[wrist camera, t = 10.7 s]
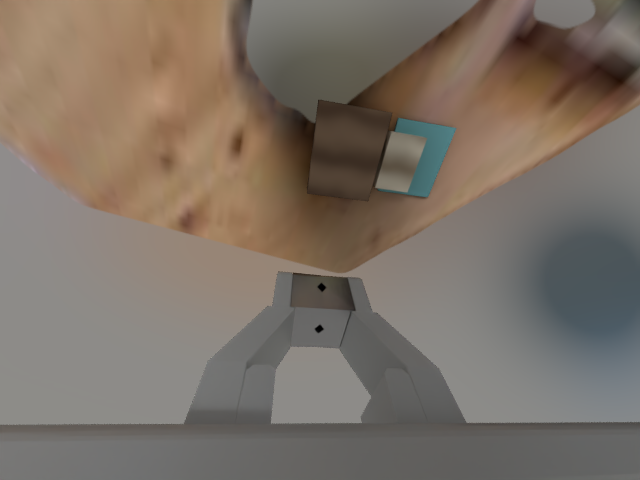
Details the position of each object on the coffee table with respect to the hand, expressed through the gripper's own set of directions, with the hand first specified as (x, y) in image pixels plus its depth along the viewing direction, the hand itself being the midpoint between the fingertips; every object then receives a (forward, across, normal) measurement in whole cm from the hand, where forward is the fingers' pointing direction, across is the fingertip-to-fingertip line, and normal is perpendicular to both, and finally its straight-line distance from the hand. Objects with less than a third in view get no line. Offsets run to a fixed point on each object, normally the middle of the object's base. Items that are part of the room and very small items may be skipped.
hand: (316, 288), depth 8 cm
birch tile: (+34, -16, 0) cm, 37 cm away
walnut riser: (+34, -6, 0) cm, 35 cm away
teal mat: (+34, -19, 0) cm, 39 cm away
